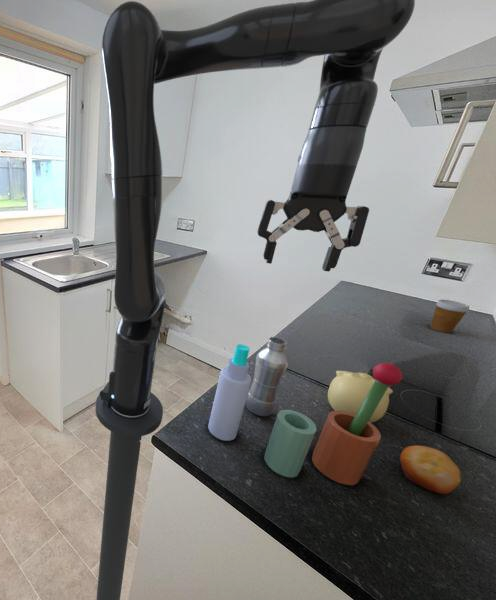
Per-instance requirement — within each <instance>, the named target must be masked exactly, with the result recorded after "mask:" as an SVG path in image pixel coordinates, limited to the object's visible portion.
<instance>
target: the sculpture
mask: <svg viewBox="0 0 496 600" xmlns="http://www.w3.org/2000/svg"><path fill="white" fill-rule="evenodd" d="M335 374H336V376H335V377H334V378H332V381H331V382H330V383H329V387H328V390H327V401H328V403H329V405H330V407H331V408H332V409H333V411H345V412H349V413H352V414H355V415H356V414H357V412H358V410H359V408H360V407H361V405H362V403H363V401H364V399H365V398H366V396H367V394H368V392H369V391H370V389H371V387H372V385H373V384H374V382H375V380H376V379H375V378H374V376H372V375H370V374H368V373H365V372H351V371H347V370H336V371H335ZM393 392H394V391H393V389H391V388H390V386H389V387H388V389H387V390H386V392H385V394H384V395H383V397H382V399H381V401H380V402H379V404H378V406H377V407H376V409H375V411H374V413H373V414H372V416H371V418H370V420H369V421H368V422H370V423H371V424H373V423H376V422H377V421H379V420H381V419H382V418H383V417H384V416H385V414H386V413H387V410H388V408H389V404H390V395H391V394H393Z"/></svg>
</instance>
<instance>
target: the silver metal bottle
mask: <svg viewBox="0 0 496 600" xmlns="http://www.w3.org/2000/svg"><path fill="white" fill-rule="evenodd" d="M287 346H288V341H286V340H285V339H284V338H281V337H277V336H270V337H269V338H268V340H267V342H266V347H265V348H262V349H261V350H260V351H259V352H258V353H257V354H256V357H255V367H254V368H255V369H254V372H253V373H254V374H253V379H252V381H251V384H250V387H249V391H248V395H247V398H246V402H245V407H246V408H247V410H248V411H249V412H251V413H253V414H254V415H257V416H259V417H269V416H271V415H272V414H273V413H274V412H275V409H276V404H277V394H278V390H279V389H278V388H279V385H280V384H281V381H282V378H283V376H284V374H285V372H286V371H287V368H288V366H289V361H288V358H287V355H286V353H285V352H286V350H287Z"/></svg>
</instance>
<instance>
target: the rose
mask: <svg viewBox="0 0 496 600" xmlns="http://www.w3.org/2000/svg"><path fill="white" fill-rule="evenodd" d="M403 375H404V374H403V371H402V370H401V369H400V368H399V367H398V366H397V365H396V364H393V363H390V362H381V363H378V364H376V365H375V366H374V367H373V369H372V377H373V379H375V382H374V384H373V385H372V387H371V389H370V391H369V392H368V394H367V396H366V398H365V399H364V401H363V403H362V405H361V407H360V408H359V410H358V412H357V414H356V415H355V417H354V419H353V421H352V423H351V424H350V426H349V428H348V430H347V431H348V432H350V433H352V434H354V435H357V436H360V435H361V433H362V432H363V430H364V428H365V426H366V425H367V423H368V421H369V420H370V418H371V416H372V414H373V413H374V411H375V409H376V407H377V406H378V404H379V402H380V401H381V399H382V397H383V395H384V394H385V392H386V390H387V389H388V387H389V388H390V386H396V385H397V384H400V383H401V381H402V380H403V377H404V376H403Z"/></svg>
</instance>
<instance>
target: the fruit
mask: <svg viewBox="0 0 496 600" xmlns="http://www.w3.org/2000/svg"><path fill="white" fill-rule="evenodd" d="M399 462H400V465H401V468H402V470H403V474H404V476H405V478H406V479H407V480H408V481H410V482H411V483H413V484H415V485H417V486H418V487H421V488H423V489H426V490H427V491H430V492H433V493H435V494H441V495H442V494H443V495H447V494H450V493H451V492H452V491H453V490H455V489H456V488H457V487H458V486H459V485H460V484H461V482H462V478H461V469H460V468H459V466H457V465H456V464H455V463H454V461H453V460H452V459H451V458H450V456H448V455H447V454H446V453H445V452H443V451H441V450H439V449H437V448H433V447H431V446H430V447H429V446H426V445H417V444H416V445H409V446H407V447H405V448H403V449H402V451H401V453H400V456H399Z"/></svg>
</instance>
